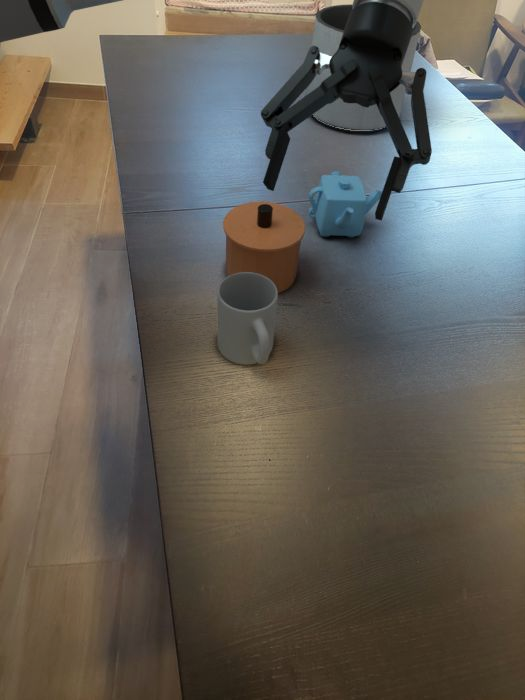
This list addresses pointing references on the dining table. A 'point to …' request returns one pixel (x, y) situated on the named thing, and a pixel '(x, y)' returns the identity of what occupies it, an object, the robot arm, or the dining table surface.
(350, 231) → the teapot
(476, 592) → the dining table surface
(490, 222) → the dining table surface
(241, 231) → the pot lid
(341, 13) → the planter
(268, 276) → the pot
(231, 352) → the mug
